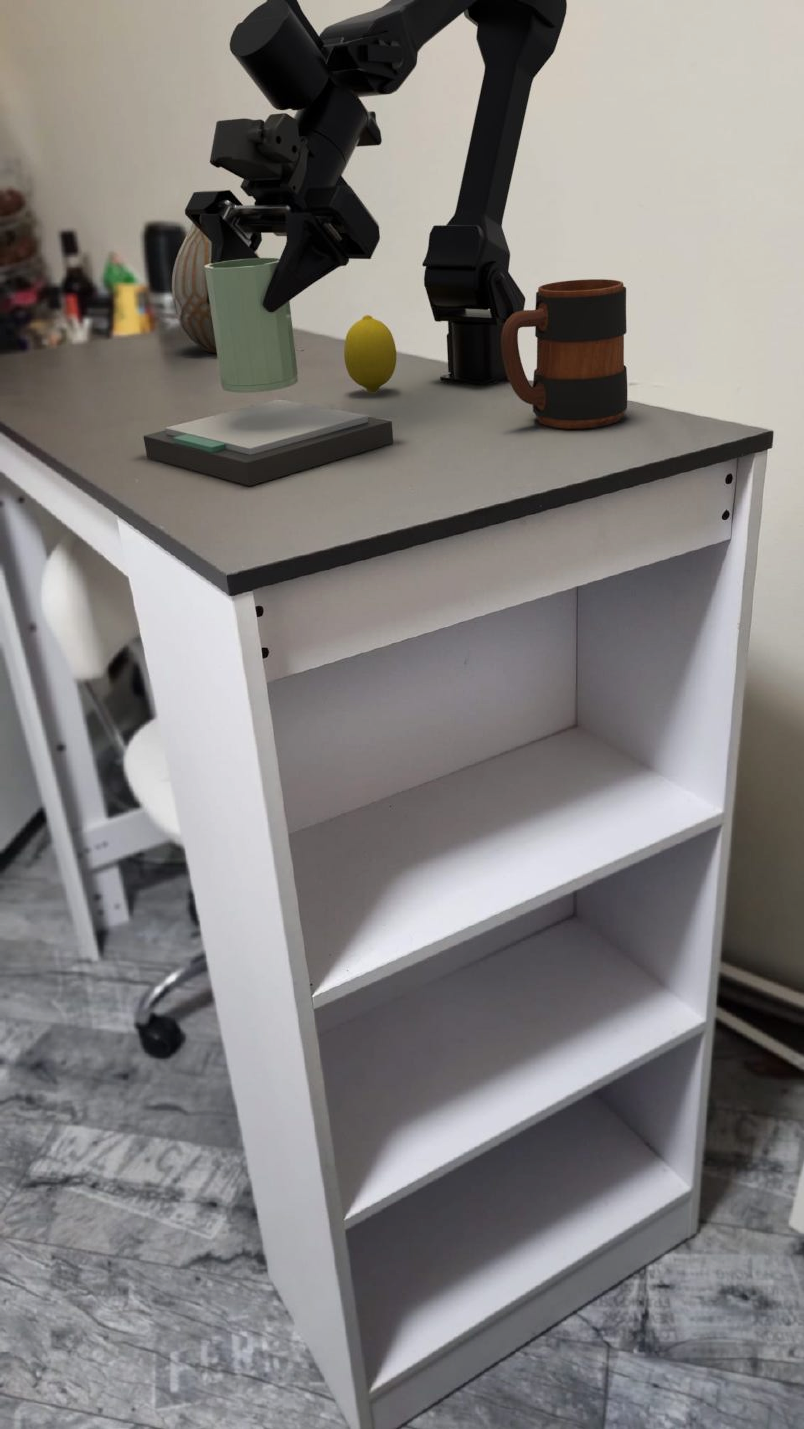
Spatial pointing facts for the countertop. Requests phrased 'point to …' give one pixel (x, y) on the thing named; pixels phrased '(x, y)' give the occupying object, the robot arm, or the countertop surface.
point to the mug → (573, 353)
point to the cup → (250, 327)
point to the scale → (267, 440)
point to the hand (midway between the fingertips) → (238, 307)
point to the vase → (194, 289)
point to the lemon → (370, 353)
